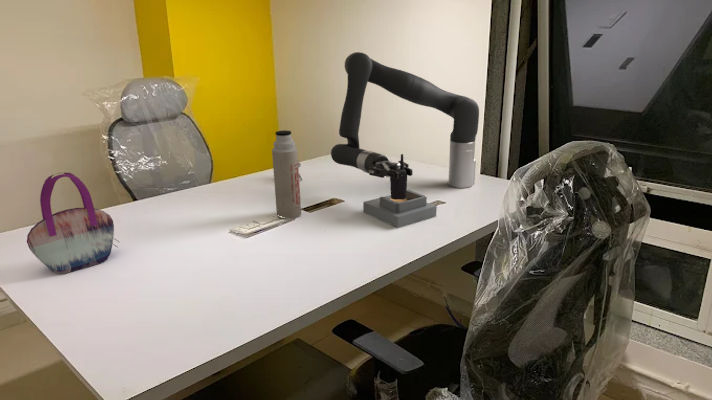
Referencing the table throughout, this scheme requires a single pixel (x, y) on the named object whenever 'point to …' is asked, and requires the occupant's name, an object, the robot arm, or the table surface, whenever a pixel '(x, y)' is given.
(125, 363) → the table surface
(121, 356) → the table surface
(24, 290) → the table surface
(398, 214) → the tray
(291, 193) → the thermos bottle
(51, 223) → the handbag
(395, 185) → the two-way radio
